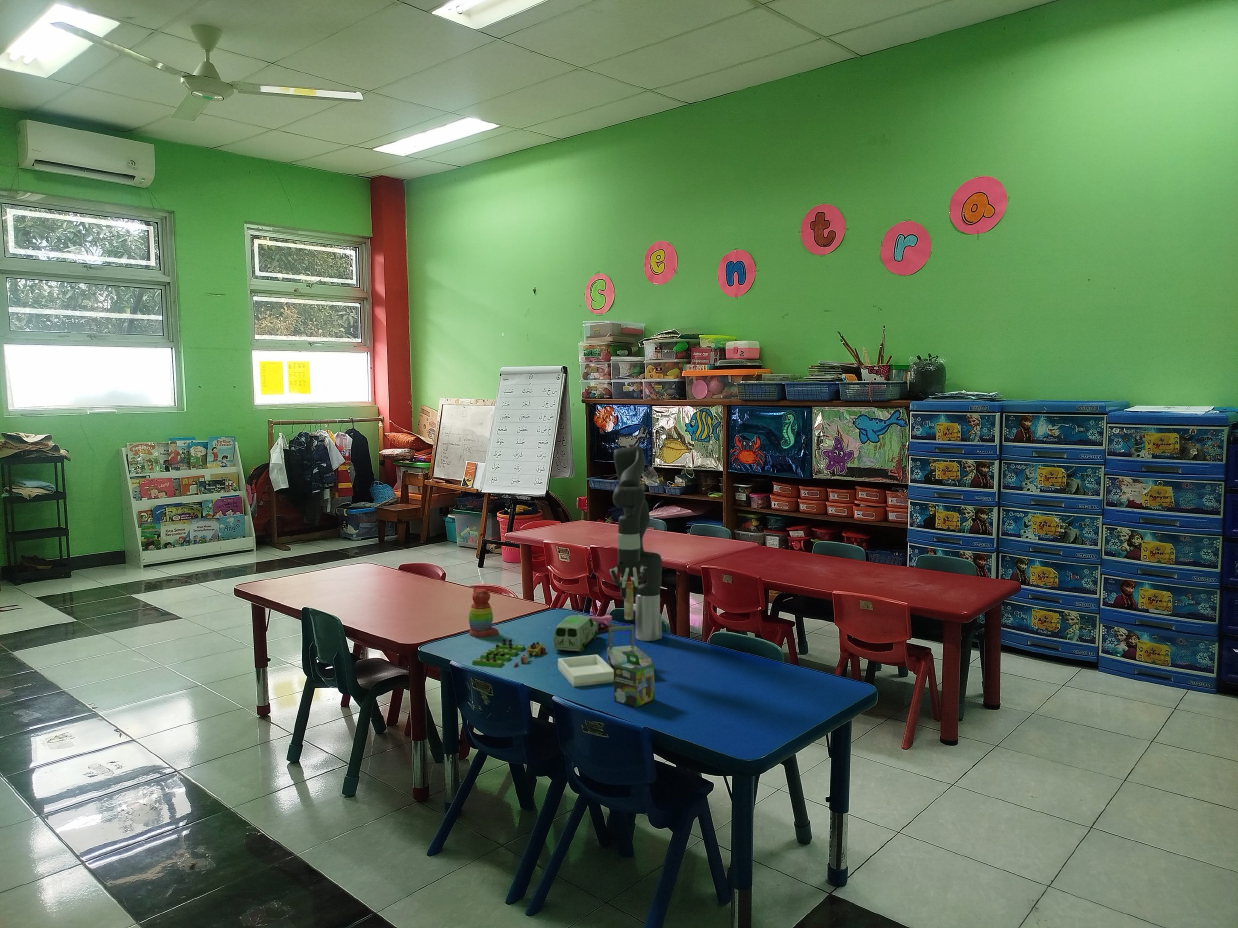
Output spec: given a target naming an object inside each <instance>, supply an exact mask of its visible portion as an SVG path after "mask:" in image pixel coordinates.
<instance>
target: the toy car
mask: <svg viewBox="0 0 1238 928" xmlns="http://www.w3.org/2000/svg"><path fill="white" fill-rule="evenodd" d="M578 615H579V614H578ZM578 615H577V614H576V615H575V614H574V615H572V614H571V615H568V616H567V617H565V618H564V619H563V620H561V621H560V622H559V624H558V625H556V626H555V629H554V633H553V638H552V639H553V640H552V641H553V645H552V649H553V650H556V651H573V652H574V651H575V652H578V653H582V652H583V651H584V650H585V646H586V645H587V644H588V643H589V642H590V641H591V640H596V639H597V635H596V633H598V630H597V623H596V622H593V620H592V619H591V617H588V616H589V615H588V616H587V615H586V616H585V615H582V616H578Z"/></svg>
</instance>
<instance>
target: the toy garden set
mask: <svg viewBox="0 0 1238 928" xmlns="http://www.w3.org/2000/svg"><path fill="white" fill-rule="evenodd" d="M512 642H513V639H512V638H510V639H508V643H507V639H506V638H502V642H498V644H497V643H496V644H495V647H491V648H490V649H488V651H486V652H484V653H483V654H480V657H475V659H473V660H472V663H471V665H473V666H479V667H481V666H482V667H488V668H489V667H491V668H500V667H502V666H503V665H504V663H506V662H508V661H510V660H511V659H512V657H516V656H517V655H518V654H519V652H522V651H523V650H525V649H526V652H527V653H526V654H521V655H520V657H519V658H518V659H517V661H516V662H515V663H514V666H513V668H516V666H518V665H519V661H520V663H521V664H527V663H529V657H530V655H532V656H540V655H542V654H545V653H546V652H547V649H546V647H543V646H544V644H543V643H540V642H538V641H536V642H532V643H531V644H530V645H529V646H527V648H526V645H525V644H517V643H516V644H515V643H512Z"/></svg>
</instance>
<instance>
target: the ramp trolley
mask: <svg viewBox="0 0 1238 928" xmlns="http://www.w3.org/2000/svg"><path fill="white" fill-rule="evenodd" d="M620 626H621V625H620ZM626 630H630V631H629V632H630V634H629V635H630V636H629V637H630V641H629V642H630V645H622V646H613V632H616V631H626ZM626 652H628V653H632V654H636V655H638V658H639V660H644V661H649V662H652V658H651V657H650V656H649V655H648V654H646V653H645V652H644V651H642V650H641V649H640V648H639V647H638V646H636V645H635V625H633V624H632V625H624V626H623V625H622V626H621V627H611V628H609V632H608V647H607V648H606V660H607V664H608V665H609V666H610V667H611V668H614V665H615V664H617V663H620V662H621V661H624V660H627V658H626ZM630 658H634V657H632V656H631V657H630ZM634 659H635V658H634Z"/></svg>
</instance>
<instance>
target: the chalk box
mask: <svg viewBox="0 0 1238 928" xmlns="http://www.w3.org/2000/svg"><path fill="white" fill-rule="evenodd" d="M631 656H632V657H634V658H635V659H634V658H630V657H631ZM626 658H627V660H624V661H621V662H620V663H617V664H615V665H614V667H613V670H614V682H613V702H617V703H621V704H624V705H628V706H629V707H634V708H639V707H641V706H643V705H644V704H646V703H650V702H651V701H653V700H655V699H656V697H655V663H654V662H653V661H651V662H649V661H644V660H639V658H638V655H636V654H632V653H628V652H626Z"/></svg>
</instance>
